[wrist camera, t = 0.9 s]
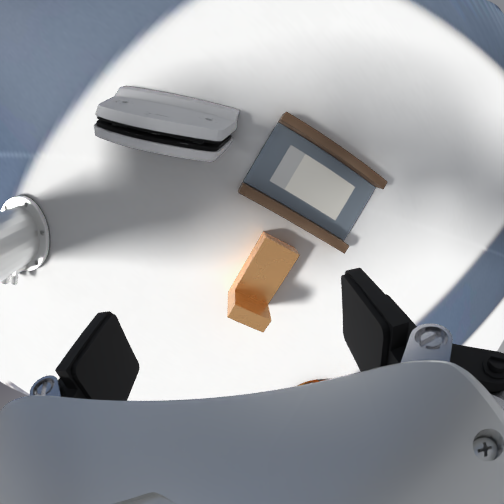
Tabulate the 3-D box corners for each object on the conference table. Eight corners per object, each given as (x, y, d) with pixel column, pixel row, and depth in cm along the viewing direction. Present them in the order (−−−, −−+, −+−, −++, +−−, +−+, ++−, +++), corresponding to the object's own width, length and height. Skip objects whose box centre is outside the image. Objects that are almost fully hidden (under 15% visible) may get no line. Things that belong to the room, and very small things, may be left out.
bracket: (258, 305, 41) (263, 332, 35) (228, 291, 40) (227, 317, 34) (294, 247, 39) (307, 267, 32) (263, 230, 38) (269, 247, 31)
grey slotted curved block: (242, 110, 32) (234, 127, 24) (231, 143, 35) (220, 171, 27) (122, 85, 30) (81, 97, 22) (117, 117, 32) (77, 138, 25)
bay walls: (338, 247, 39) (344, 253, 36) (238, 190, 35) (238, 192, 33) (379, 179, 36) (387, 181, 34) (282, 114, 33) (286, 111, 30)
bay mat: (343, 240, 39) (344, 240, 38) (243, 181, 35) (243, 181, 35) (374, 187, 36) (376, 187, 36) (277, 122, 33) (278, 122, 33)
